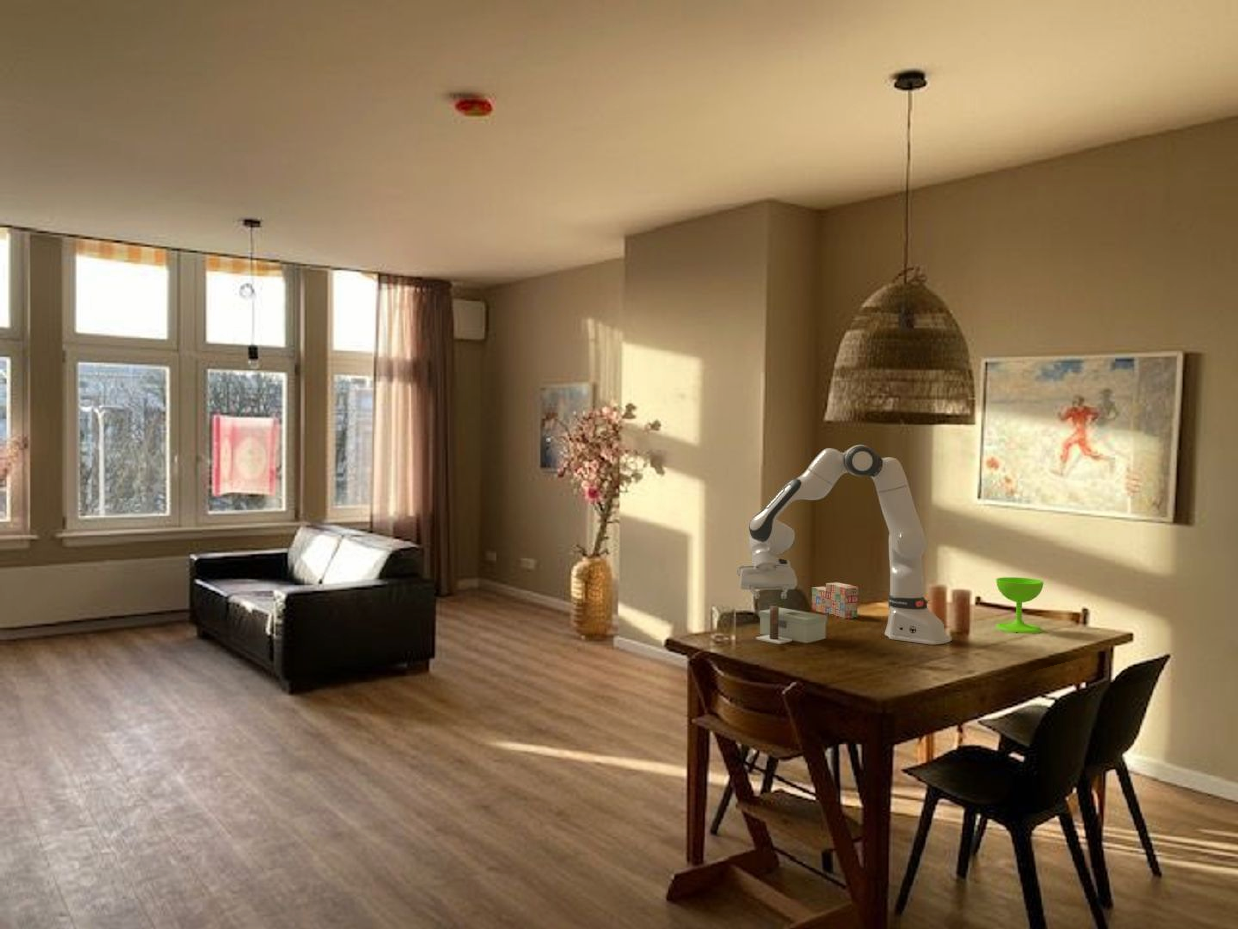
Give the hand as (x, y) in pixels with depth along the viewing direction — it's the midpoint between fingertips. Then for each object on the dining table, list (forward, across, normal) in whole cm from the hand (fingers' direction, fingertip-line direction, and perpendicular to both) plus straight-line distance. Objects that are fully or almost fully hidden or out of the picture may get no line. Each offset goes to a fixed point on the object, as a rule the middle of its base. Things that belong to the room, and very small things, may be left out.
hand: (770, 597), depth 319 cm
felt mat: (+14, 0, +5) cm, 15 cm away
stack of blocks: (-20, +35, +40) cm, 57 cm away
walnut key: (+14, 0, +5) cm, 14 cm away
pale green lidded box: (+9, +8, +10) cm, 16 cm away
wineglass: (+2, +95, +18) cm, 97 cm away
